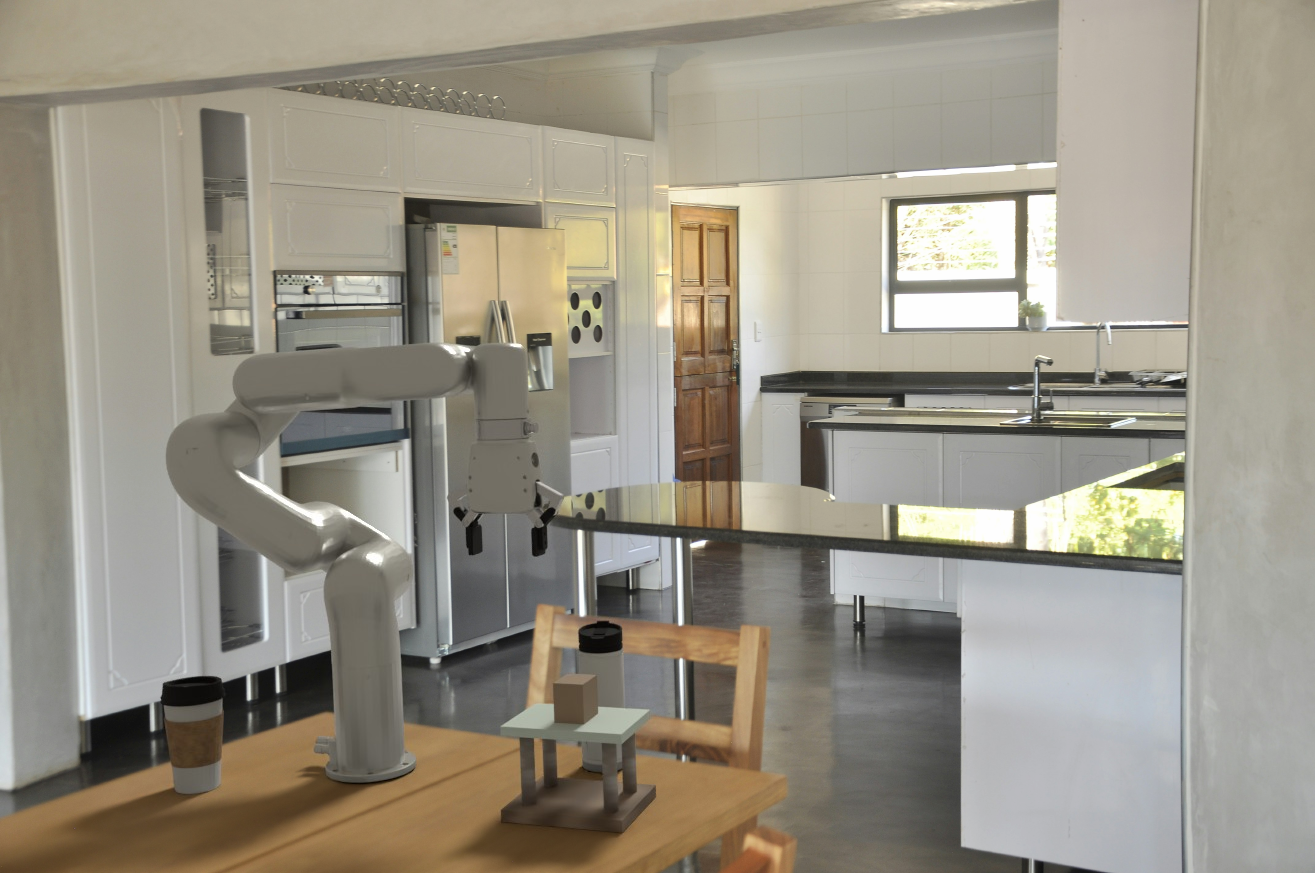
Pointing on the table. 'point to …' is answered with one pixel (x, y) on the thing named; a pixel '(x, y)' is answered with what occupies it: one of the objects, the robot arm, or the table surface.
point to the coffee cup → (194, 731)
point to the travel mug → (602, 678)
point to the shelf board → (575, 732)
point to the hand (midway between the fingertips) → (507, 554)
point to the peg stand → (579, 792)
